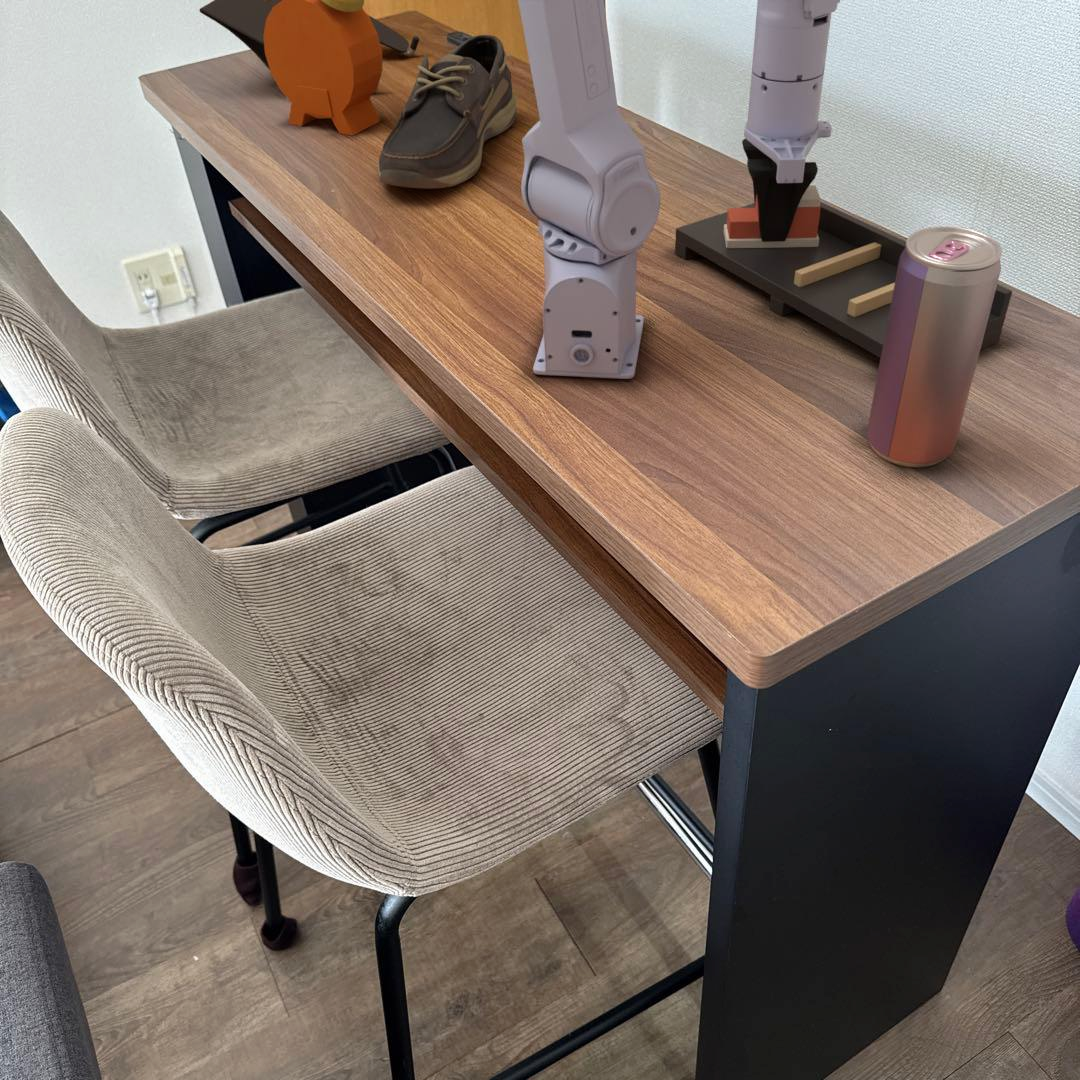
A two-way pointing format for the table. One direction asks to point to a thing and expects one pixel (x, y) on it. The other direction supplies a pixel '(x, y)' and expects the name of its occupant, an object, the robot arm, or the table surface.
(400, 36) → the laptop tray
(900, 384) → the beverage can
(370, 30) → the alarm clock
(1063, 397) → the table surface
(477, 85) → the boat shoe
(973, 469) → the table surface
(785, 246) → the stepped block
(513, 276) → the table surface
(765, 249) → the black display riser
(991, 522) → the table surface
